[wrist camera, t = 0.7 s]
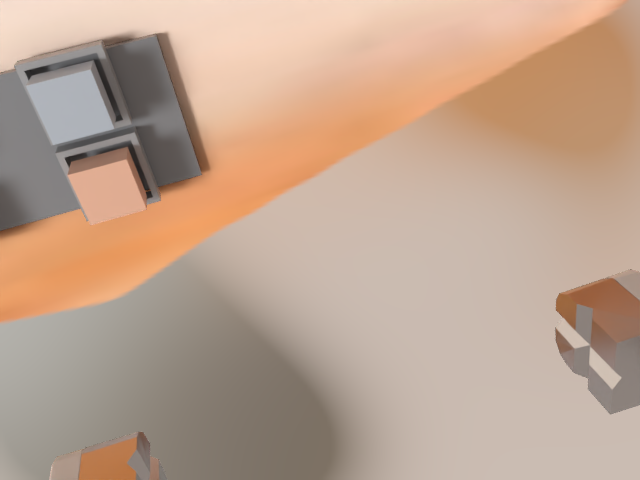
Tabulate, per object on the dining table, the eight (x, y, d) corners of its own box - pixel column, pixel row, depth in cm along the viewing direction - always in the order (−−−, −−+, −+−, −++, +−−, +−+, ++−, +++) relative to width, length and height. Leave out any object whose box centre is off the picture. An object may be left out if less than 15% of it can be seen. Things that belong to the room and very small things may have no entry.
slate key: (31, 75, 44) (25, 85, 42) (93, 60, 44) (90, 69, 42) (57, 132, 46) (53, 145, 44) (116, 117, 47) (114, 129, 44)
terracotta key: (71, 161, 47) (67, 175, 45) (127, 146, 48) (126, 159, 46) (93, 210, 50) (90, 225, 48) (146, 195, 50) (146, 209, 48)
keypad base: (-231, 120, 43) (-248, 131, 41) (153, 25, 46) (153, 31, 44) (-123, 268, 50) (-134, 282, 49) (203, 177, 53) (205, 188, 52)
